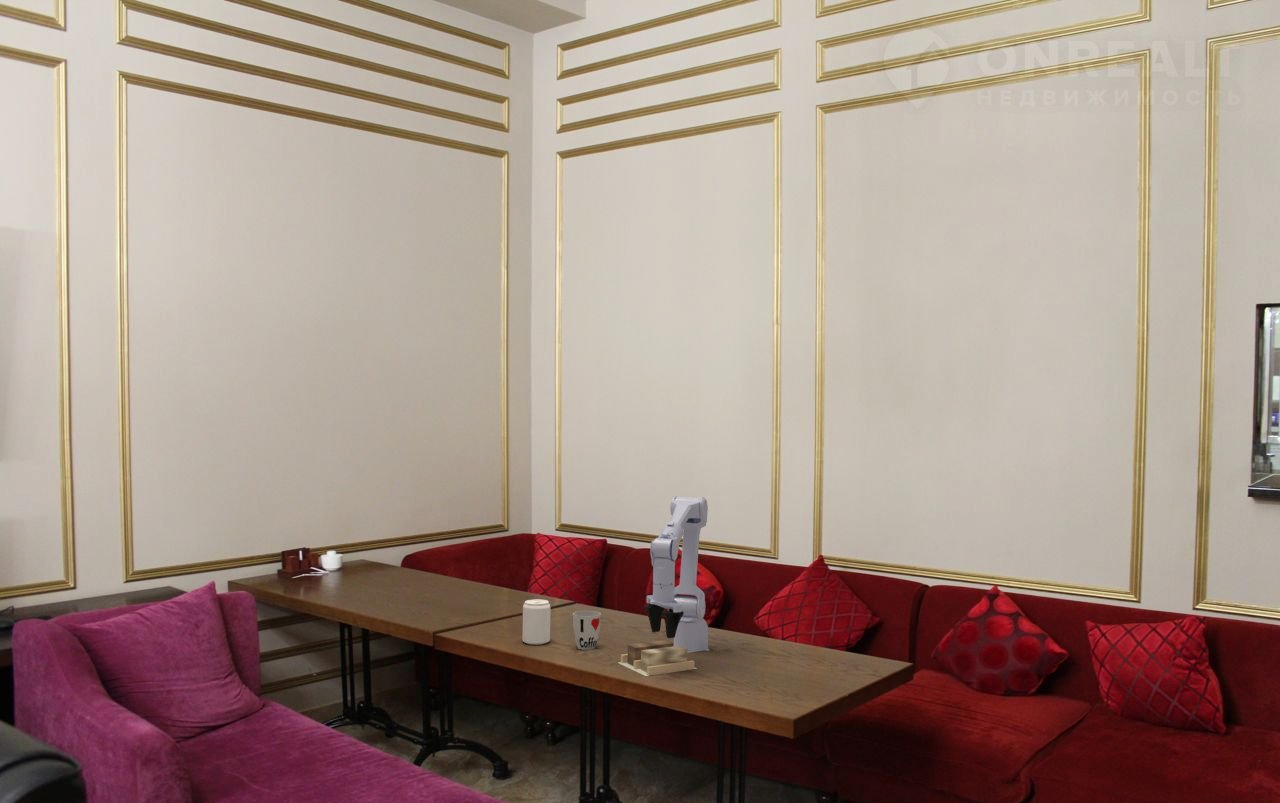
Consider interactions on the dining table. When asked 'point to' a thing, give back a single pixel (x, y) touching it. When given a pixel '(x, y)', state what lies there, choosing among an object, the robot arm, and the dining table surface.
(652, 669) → the slot board
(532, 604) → the beverage can
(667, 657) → the beige wooden block
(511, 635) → the dining table surface
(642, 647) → the brown wooden block
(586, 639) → the cup
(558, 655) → the dining table surface
